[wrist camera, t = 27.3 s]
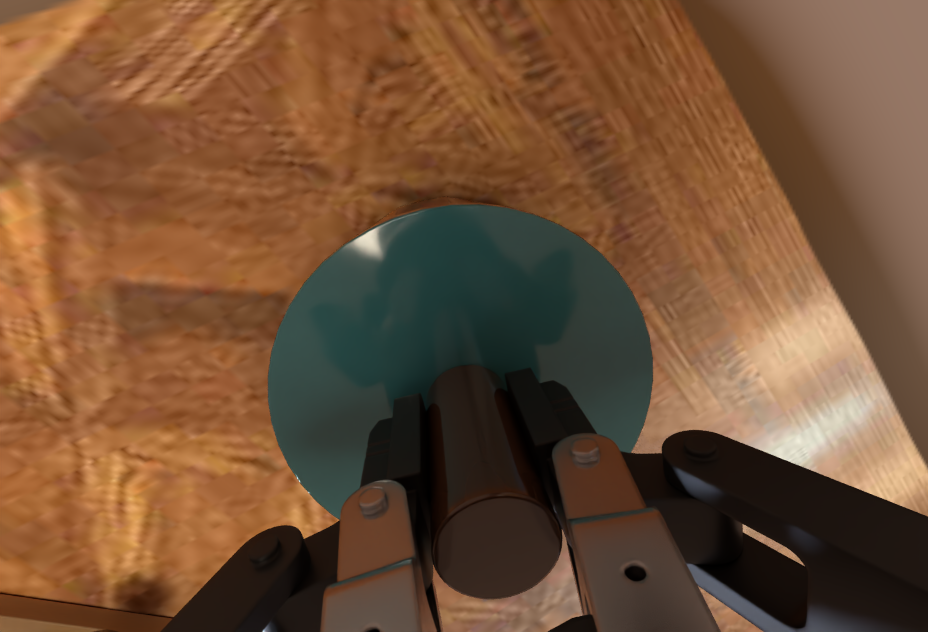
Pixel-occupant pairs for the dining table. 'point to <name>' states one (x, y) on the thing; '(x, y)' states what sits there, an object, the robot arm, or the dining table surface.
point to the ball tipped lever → (106, 630)
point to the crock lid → (458, 372)
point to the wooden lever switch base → (70, 617)
